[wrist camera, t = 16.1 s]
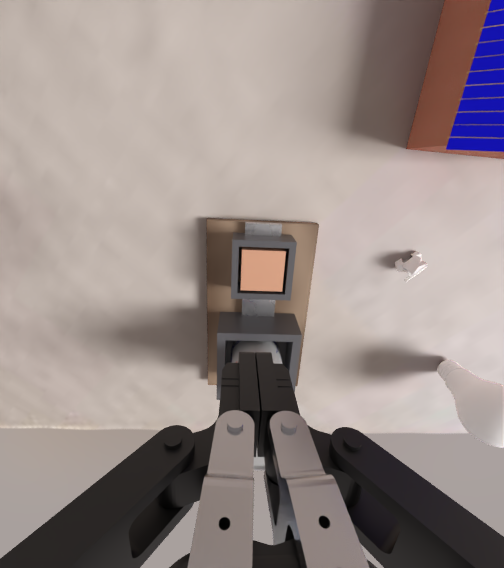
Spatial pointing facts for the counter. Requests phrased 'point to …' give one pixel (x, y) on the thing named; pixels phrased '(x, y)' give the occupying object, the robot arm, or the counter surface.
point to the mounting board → (221, 277)
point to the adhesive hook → (411, 265)
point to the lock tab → (262, 268)
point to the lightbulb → (476, 402)
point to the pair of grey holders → (260, 327)
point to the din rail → (253, 305)
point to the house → (464, 83)
